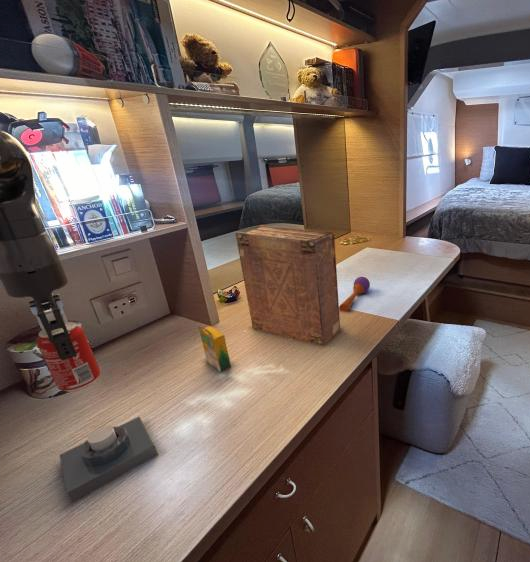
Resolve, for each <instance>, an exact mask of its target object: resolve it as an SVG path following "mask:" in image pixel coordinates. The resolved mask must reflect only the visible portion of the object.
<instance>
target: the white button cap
mask: <svg viewBox="0 0 530 562" xmlns="http://www.w3.org/2000/svg"><path fill="white" fill-rule="evenodd" d="M113 427H114V426H111V425H105V426H101V427H99V428H97V429H96V430H94V431H92V432H91V433H90V434H89V435H88V437H87V440H88V443H89V445H90V447H91V449H92V451H94V452H97V451H101V450H104V449H106V448H108V447H110V446H111V445H112V444H114V443H115V442H116V440H117V436H116V433H115V431H114V428H113Z"/></svg>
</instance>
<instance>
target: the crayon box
mask: <svg viewBox="0 0 530 562" xmlns="http://www.w3.org/2000/svg"><path fill="white" fill-rule="evenodd" d="M197 326H198V331H199V334H200V335H199V336H200V339H201V343H202V346H203V352H204V355H205V359H206V362H207V363H208V364H209V365H211V366H212V367H213V368H214V369H216V370H217V371H218V372H220V373H222V372H223V371H225V370H228V369H229V368H231V367H232V365H231V360H230V356H229V352H228V346H227V342H226V336H225V334H224V333H222V332H220V331H219V330H217V329H216V328H214V327H213V326H211V325H209V326H207V327H204V326H203V325H201V324H199V323H197Z"/></svg>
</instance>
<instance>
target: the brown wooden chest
mask: <svg viewBox="0 0 530 562" xmlns="http://www.w3.org/2000/svg"><path fill="white" fill-rule="evenodd" d="M257 227H258V228H256V229H252V230H248V231H245V232H240V231H237V232H236V231H235V238H236V244H237V249H238V255H239V261H240V267H241V271H242V276H243V277H242V278H243V283H244V288H245V294H246V299H247V304H248V310H249V316H250V320H251V321H250V322H251V327H252V329H256V330H260V331H263V332H268V333H271V334H275V335H279V336H283V337H287V338H292V339H295V340H299V341H303V342H307V343H311V344H315V345H320V346H322V347H324V346H325V345H326V344H327V343H328V342H329V341H330V340H331V339H332V338H333V337H334V336H335V335H336V334H338V333H339V332H340V330H341V321H340V319H341V318H340V308H339V307H340V304H339V289H338V288H339V287H338V273H337V272H338V270H337V257H336V256H337V255H336V253H337V252H336V239H335V233H334V232H331V231H321V230H312V229H303V228H293V227H283V226H273V225H264V224H259V225H258V226H257Z"/></svg>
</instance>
